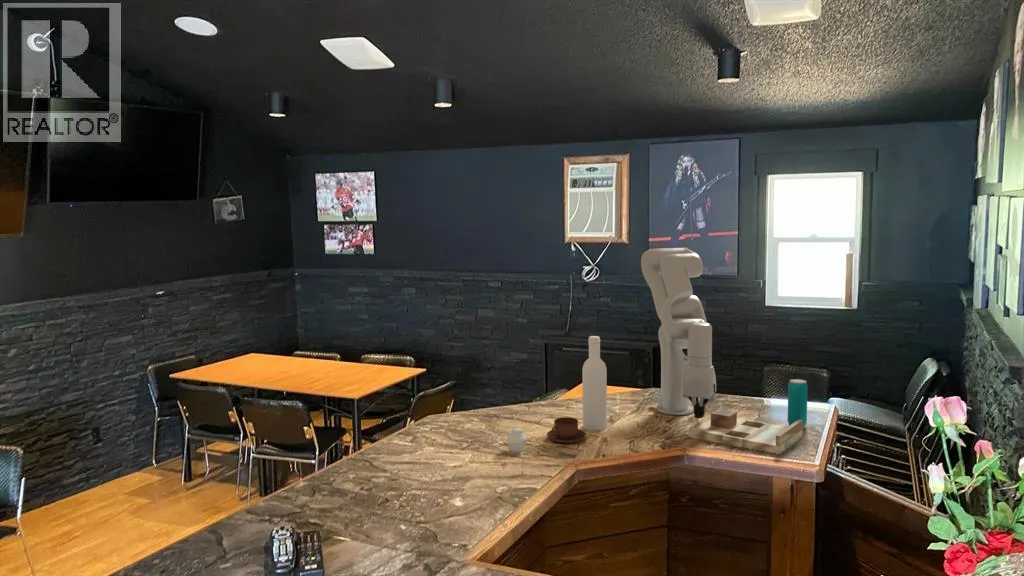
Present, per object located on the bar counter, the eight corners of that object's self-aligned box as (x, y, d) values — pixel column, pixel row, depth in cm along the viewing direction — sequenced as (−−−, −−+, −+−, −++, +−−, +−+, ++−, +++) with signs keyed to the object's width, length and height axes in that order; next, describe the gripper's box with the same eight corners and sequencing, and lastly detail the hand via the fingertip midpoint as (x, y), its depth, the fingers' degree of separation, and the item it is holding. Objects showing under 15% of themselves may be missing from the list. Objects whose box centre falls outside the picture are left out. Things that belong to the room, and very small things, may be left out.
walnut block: (710, 425, 226) (710, 413, 226) (718, 421, 231) (718, 409, 230) (729, 429, 222) (729, 416, 222) (736, 424, 227) (736, 412, 226)
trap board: (688, 437, 223) (688, 419, 223) (715, 421, 239) (715, 405, 238) (779, 454, 206) (780, 436, 205) (802, 437, 221) (802, 419, 220)
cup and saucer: (574, 448, 215) (574, 428, 214) (539, 442, 221) (539, 422, 221) (592, 437, 225) (592, 418, 225) (558, 432, 232) (558, 413, 231)
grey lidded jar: (503, 452, 212) (503, 429, 211) (511, 446, 218) (510, 423, 217) (523, 455, 210) (523, 431, 209) (530, 448, 215) (530, 425, 215)
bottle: (610, 425, 237) (609, 335, 234) (602, 432, 230) (602, 339, 227) (587, 422, 240) (586, 334, 237) (579, 429, 233) (578, 338, 230)
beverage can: (803, 423, 235) (804, 378, 233) (808, 429, 229) (810, 382, 228) (785, 423, 235) (786, 378, 234) (790, 428, 230) (791, 382, 228)
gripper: (672, 360, 231) (672, 416, 233) (716, 366, 222) (716, 424, 224) (683, 356, 237) (682, 411, 239) (726, 361, 228) (726, 418, 230)
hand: (699, 417), depth 231 cm, fingers closed
